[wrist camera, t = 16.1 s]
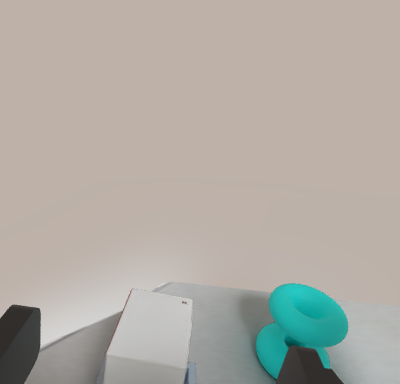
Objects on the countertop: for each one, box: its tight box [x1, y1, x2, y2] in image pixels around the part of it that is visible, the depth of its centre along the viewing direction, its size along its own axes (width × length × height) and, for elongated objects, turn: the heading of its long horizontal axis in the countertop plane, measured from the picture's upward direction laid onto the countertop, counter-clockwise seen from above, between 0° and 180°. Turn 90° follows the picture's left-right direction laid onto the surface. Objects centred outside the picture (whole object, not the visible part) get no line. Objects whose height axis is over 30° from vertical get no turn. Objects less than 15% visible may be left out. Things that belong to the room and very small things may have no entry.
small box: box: [103, 289, 193, 384], centre depth 29 cm, size 8×6×13 cm
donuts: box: [256, 283, 348, 380], centre depth 42 cm, size 10×10×10 cm
